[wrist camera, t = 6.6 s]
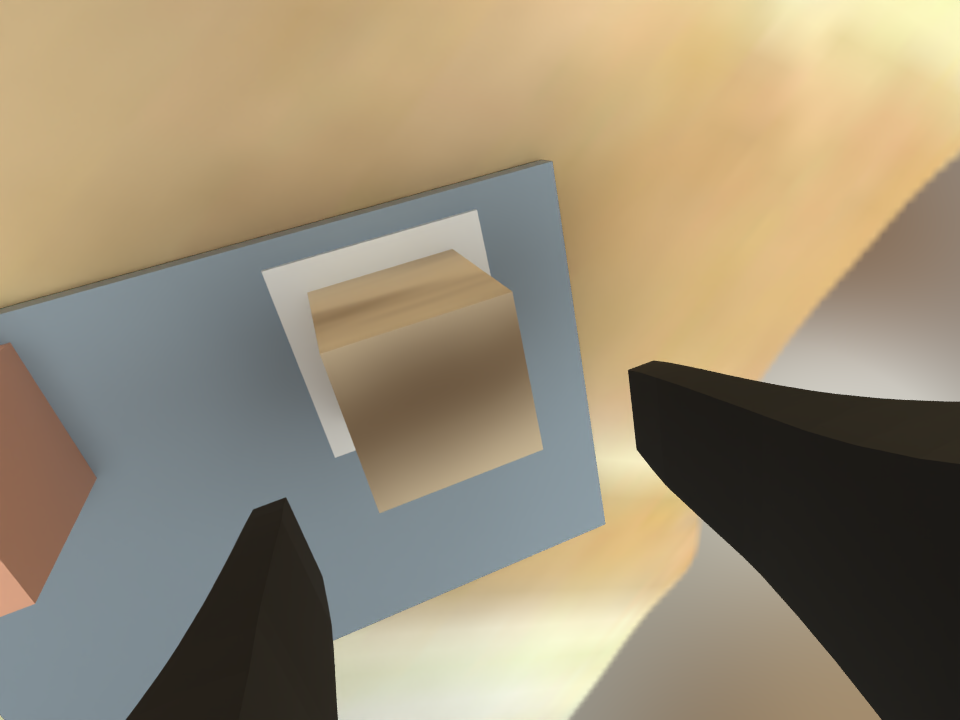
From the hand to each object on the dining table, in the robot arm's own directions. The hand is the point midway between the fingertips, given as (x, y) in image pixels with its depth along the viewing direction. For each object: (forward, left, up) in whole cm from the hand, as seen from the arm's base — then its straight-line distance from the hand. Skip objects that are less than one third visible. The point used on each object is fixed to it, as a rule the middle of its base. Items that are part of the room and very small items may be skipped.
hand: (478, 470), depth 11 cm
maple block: (0, 0, -8) cm, 8 cm away
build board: (-3, +5, -9) cm, 11 cm away
